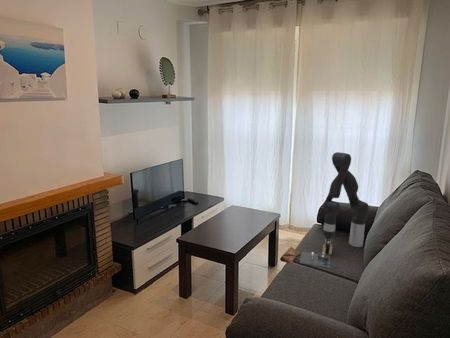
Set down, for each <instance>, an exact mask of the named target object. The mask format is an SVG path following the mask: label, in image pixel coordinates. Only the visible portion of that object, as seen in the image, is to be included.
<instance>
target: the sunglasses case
mask: <svg viewBox="0 0 450 338" xmlns="http://www.w3.org/2000/svg"><path fill="white" fill-rule="evenodd" d="M299 256H301V252H299V251H298V250H297V249H296V248H294V247H293V246H290V247H289V248H288V249H287V250H286V251H285V252H284V253H283V255H281V257H280V258H279V260H280V262H283V263H287V264H290V265H292V264H293V262H294V261H296V259H297V258H298V257H299Z"/></svg>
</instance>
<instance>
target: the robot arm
mask: <svg viewBox="0 0 450 338" xmlns="http://www.w3.org/2000/svg"><path fill="white" fill-rule="evenodd" d="M331 160H332V161H331V162H332V164H333V166H334V168H335V170H336V172H337V175H336V176H335V178H334V179H333V180H332V182H331V183H330V186H329V192H328V195H327V196H326V198H325V200H324V202H323V209H324V210H325V211H328V212H331V213H326V214H325V215H324V223H323V231H322V232H323V233H322V235H323V236H324V237H325V239H324V241H325V243H324V244H325V245H326V252H325V253H327V254H329V249H330V245H332V244H331V243H332V238H334V237H335V236H336V235H335V234H336V221H337V216H338V214H339V211H340V210H341V204H340V203H339V202H337V201H335V200H333V199H338V198H340V195H341V192H342V188H344V191H345V193H346V196H347V200H348V201H349V206H350V209H351V211H352V212H354V213H356V214H357V215H356V216H353V217H351V223H350V232H349V240H348V244H349V245H350V247H351V246H352V247H356V248H363V245H364V238H365V229H366V228H365V227H366V222H367V219H368V216H369V211H370V206H369V204H368V202H365V201H364V200H363V201H362V200H360V199H359V196H358V189H359V184H358V181H357V179H356V177H355V175H354V174H353V173H352V172H351V171H349V170H350V166H351V163H352V156H351V154H349V153H345V152H334V153H333V154H332V156H331ZM342 186H343V187H342Z"/></svg>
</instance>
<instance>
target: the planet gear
mask: <svg viewBox="0 0 450 338" xmlns="http://www.w3.org/2000/svg"><path fill="white" fill-rule="evenodd" d="M321 252H326V245H325V243H324V244H322V251H321ZM332 253H333V245H332V244H331V245H330V249H329V256H331V255H332Z"/></svg>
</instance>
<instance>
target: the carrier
mask: <svg viewBox="0 0 450 338" xmlns="http://www.w3.org/2000/svg"><path fill="white" fill-rule="evenodd" d="M300 253H301V254H300V257H299V264H302V265H303V264H304V265H309V266H310V265H311V266H316V267H322V268H327V269H331V255H329V254H327V253H325V252H322V251H320V252H318V253H315V252H314V251H311V252H308V251H301V252H300Z"/></svg>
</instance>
